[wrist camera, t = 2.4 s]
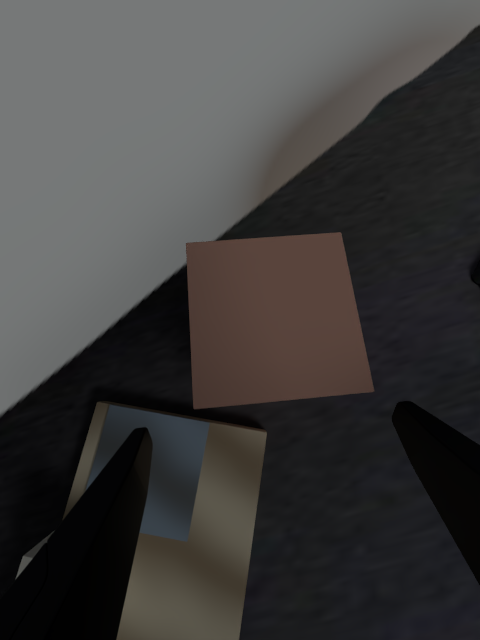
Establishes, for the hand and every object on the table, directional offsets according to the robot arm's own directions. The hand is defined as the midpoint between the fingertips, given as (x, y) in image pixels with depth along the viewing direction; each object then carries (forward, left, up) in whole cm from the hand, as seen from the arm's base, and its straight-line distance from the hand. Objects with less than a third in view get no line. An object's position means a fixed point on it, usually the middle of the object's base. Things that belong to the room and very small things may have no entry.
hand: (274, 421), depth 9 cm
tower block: (+3, +1, -10) cm, 11 cm away
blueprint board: (-10, +5, -10) cm, 15 cm away
